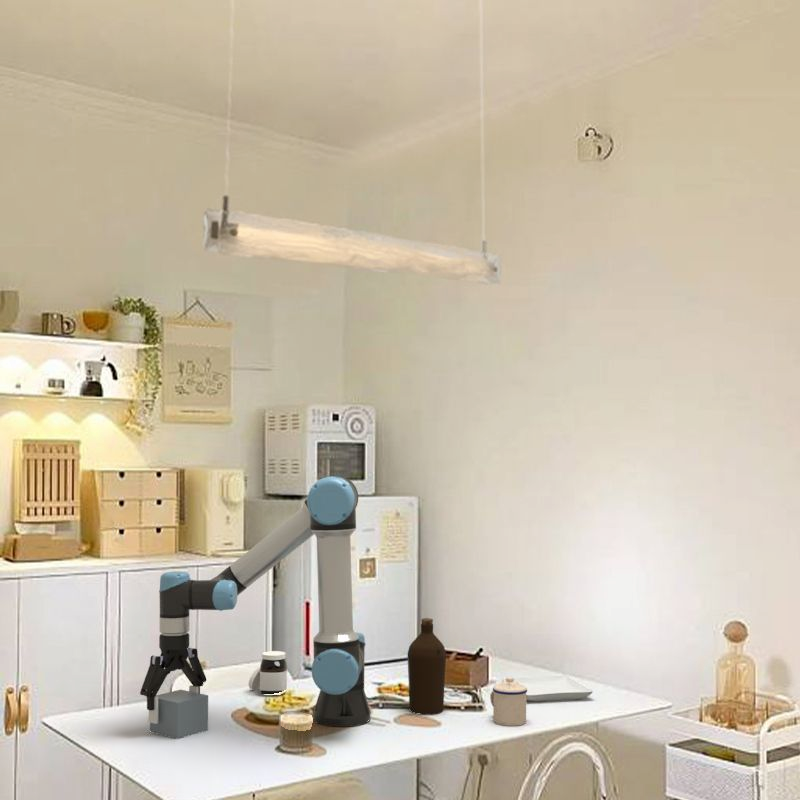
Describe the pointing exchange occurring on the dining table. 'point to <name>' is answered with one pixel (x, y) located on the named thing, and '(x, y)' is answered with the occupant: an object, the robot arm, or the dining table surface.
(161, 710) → the grey block
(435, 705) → the olive oil
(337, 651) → the robot arm
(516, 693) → the teacup with lid
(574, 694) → the salad plate
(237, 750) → the dining table surface
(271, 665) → the spread jar
